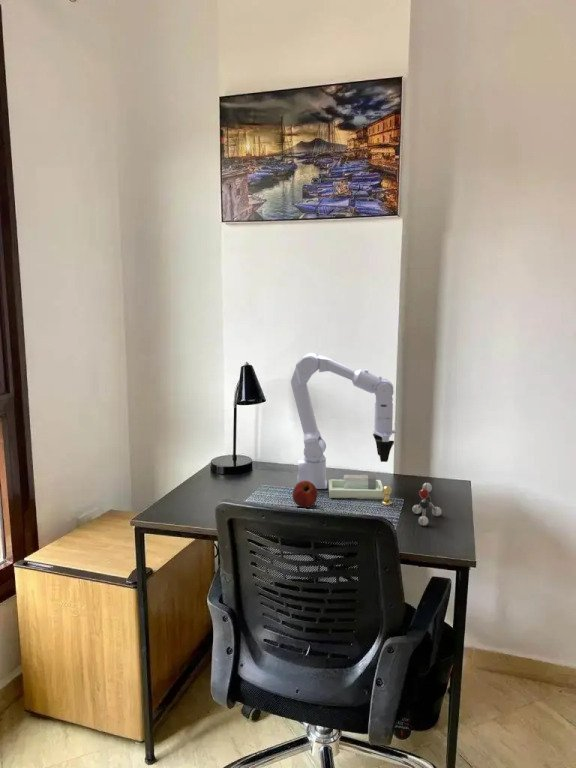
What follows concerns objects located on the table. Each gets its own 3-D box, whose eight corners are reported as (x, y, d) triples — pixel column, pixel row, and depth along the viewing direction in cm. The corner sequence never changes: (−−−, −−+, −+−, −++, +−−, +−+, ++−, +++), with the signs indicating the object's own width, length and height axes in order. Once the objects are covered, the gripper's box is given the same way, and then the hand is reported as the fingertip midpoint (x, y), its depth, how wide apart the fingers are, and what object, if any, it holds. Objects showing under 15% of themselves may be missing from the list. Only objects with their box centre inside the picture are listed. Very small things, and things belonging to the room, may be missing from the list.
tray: (329, 498, 184) (329, 490, 183) (328, 487, 195) (328, 479, 194) (384, 499, 183) (384, 490, 182) (380, 488, 194) (380, 479, 193)
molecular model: (441, 514, 170) (442, 479, 168) (438, 530, 159) (439, 492, 157) (412, 511, 173) (413, 476, 171) (407, 526, 161) (408, 489, 160)
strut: (344, 493, 187) (344, 478, 186) (343, 489, 191) (343, 474, 190) (375, 493, 186) (376, 478, 186) (374, 489, 190) (374, 474, 189)
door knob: (382, 505, 178) (382, 487, 177) (381, 502, 180) (381, 484, 180) (392, 505, 177) (392, 487, 177) (390, 502, 180) (391, 484, 180)
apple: (291, 510, 173) (291, 484, 172) (293, 501, 181) (293, 476, 180) (316, 511, 173) (317, 484, 172) (317, 502, 181) (317, 476, 180)
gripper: (399, 422, 182) (398, 464, 184) (393, 413, 196) (392, 452, 198) (376, 421, 182) (375, 464, 184) (371, 412, 197) (371, 452, 199)
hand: (382, 458), depth 191 cm, fingers open, 7 cm apart
